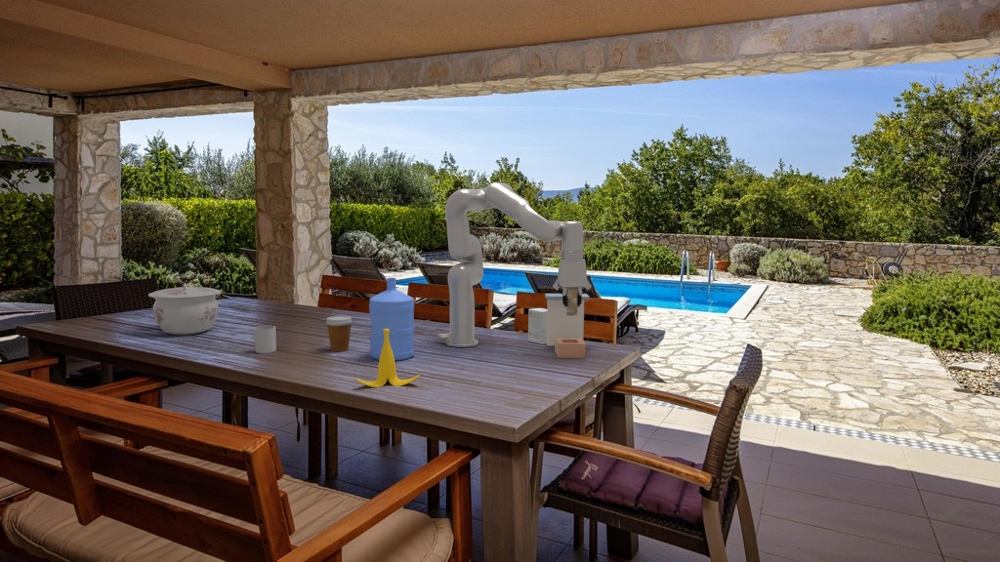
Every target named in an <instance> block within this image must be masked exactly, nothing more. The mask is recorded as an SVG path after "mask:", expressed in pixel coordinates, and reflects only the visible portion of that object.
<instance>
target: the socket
mask: <svg viewBox="0 0 1000 562" xmlns="http://www.w3.org/2000/svg"><path fill="white" fill-rule="evenodd" d="M586 349H587V344H586V342H585V340H584V338H583V339H582V338H555V346H554V353H555V355H556V358H562V359H563V358H564V359H567V358H568V359H570V358H573V359H574V358H575V359H579V358H580V359H583V358H584V359H586V356H587V355H586V353H587V350H586Z"/></svg>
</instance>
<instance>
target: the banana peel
mask: <svg viewBox="0 0 1000 562" xmlns="http://www.w3.org/2000/svg"><path fill="white" fill-rule="evenodd" d="M383 331H384V345H383V348H382V351H381V355H380V359H379V360H378V367H377V370H378V371H377V377H376V379H375V380H374V381H366V380H362V379H359V378H355V381H357V382H358V383H360V384H363V385H366V386H368V387H370V388H371V387H372V388H380V387H384V386H385V385H386V383H387V381H388V382H389V384H390V385H392V386H393V387H403V386H404V385H408V384H410V383H411V382H414V381H415V380H417V379H418V378H419V377H420V376H421V375H420V374H417V375H415V377H411V378H408V379H400V378H398V376H397V369H396V368H397V367H396V361H395V360H394V356H393V352H392V349H391V346H390V343H389V331H390V330H389V329H384V330H383Z"/></svg>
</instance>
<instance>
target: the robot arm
mask: <svg viewBox="0 0 1000 562" xmlns="http://www.w3.org/2000/svg"><path fill="white" fill-rule="evenodd" d="M490 209H498V210H499V211H500V212H501V213H503V214H504V215H507V216H508V217H509V218H510V219H512V220H514V221H515V223H516V224H518V226H519V227H521V228H522V229H523V230H524V231H526V232H527V233H528V234H530V235H532V236H533V237H535V238H536V239H538V240H539V241H541V242H544V243H549V242H557V241H561V251H560V252H557V257H560V258H561V259H559V263H558V271H557V278H556V281H554V283H553V285H552V288H553V289H555V290H556V291H558V292H559V294H562V295H563V304H564V306H565V307H567V296H566V294H567V288H578V307H580V304H582V295H583V294H585V293H586V292H587V291H588V290H589V289H591V288H592V284H591V283H590V282H589V280H588V274H587V264H586V259H584V252H583V251H584V224H583V222H581V221H578V220H565V221H562V220H548V219H546V218H545V217H543V216H542V215H541V214H539V213H537V212H536V211H534V209H532V207H531V206H530V203H529V201H528V200H527V199H525V198H524V197H522V196H521V195H519V194H517V193H516V192H514V190H513V188H512V186H511V185H509V184H508V183H505V182H498V181H497V182H496V181H495V182H491V183H489V184H488V185H486V187H484V188H477V189H476V188H461V189H457V190H455V191H453V193H451V195H449V197H448V198H447V200H446V204H445V212H444V214H445V219H446V233H447V244H448V253H449V255H450V257H451V258H452V259H455V260H458V261H459V260H460V263H456V264H454V265H452V267H450V269H449V270H448V273H447V284H448V291H449V332H446V333H441V332H440V333H439V332H438V339H440V340H445V344H446V346H449V347H456V348H457V347H458V348H468V347H474V346H477V345H478V344H479V340H478V339H476V338H475V294H474V289H473V286H475V285H478V284H479V283H480V282H481V281H482V280H483V277H484V261H483V251H482V250H483V248H482V245H481V242H480V240H479V238H478V237H476V235H474V234H471V233H470V222H469V220H468V217H467V213H468V212H480V211H487V210H490ZM560 287H561V288H560Z"/></svg>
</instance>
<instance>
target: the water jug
mask: <svg viewBox="0 0 1000 562" xmlns="http://www.w3.org/2000/svg"><path fill="white" fill-rule="evenodd" d="M396 280H397V278H396V277H386V282H387V283H386V290H383V291H381V292H380V293H378V294H376V295H374V296H372V297H370V298H369V305H368V309H369V318H370V337H369V356H370V358H372V359H373V360H377V361H379V359H380V355H381V351H382V348H383V345H384V331H383V330H384V329H389V330H390V331H389V343H390V346H391V349H392V352H393V356H394V360H395V362H396V361H405V360H408V359H410V358H412V357H414V355H415V338H414V334H415V325H414V321H415V319H414V318H415V317H414V316H415V315H414V313H415V312H414V311H415V302H414V298H413V297H412V296H410V295H408V294H406V293H404V292H402V291H399V290H398V289H397V281H396Z"/></svg>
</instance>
